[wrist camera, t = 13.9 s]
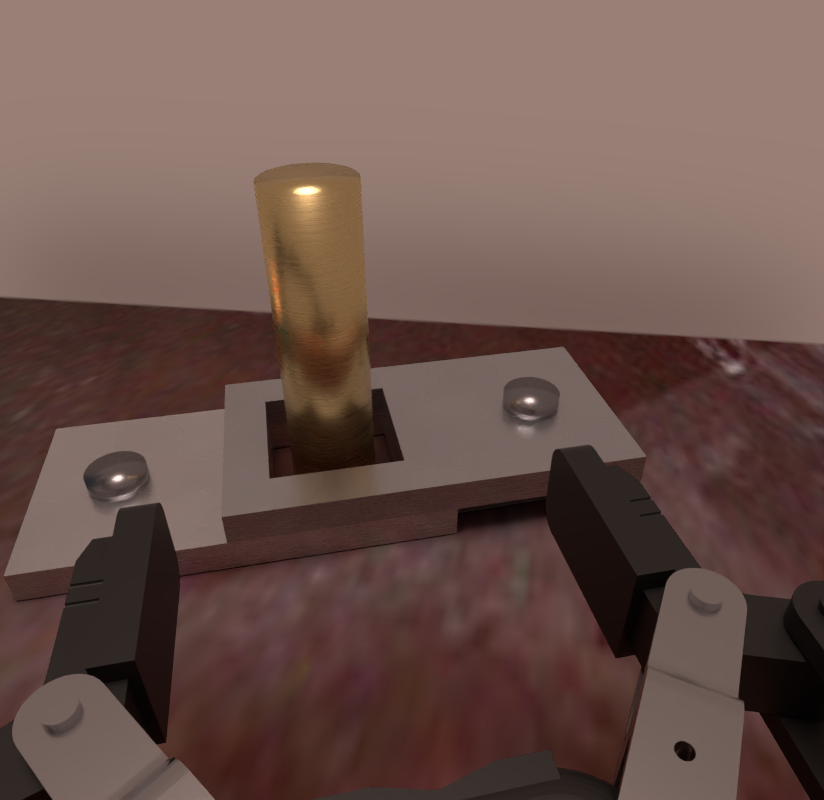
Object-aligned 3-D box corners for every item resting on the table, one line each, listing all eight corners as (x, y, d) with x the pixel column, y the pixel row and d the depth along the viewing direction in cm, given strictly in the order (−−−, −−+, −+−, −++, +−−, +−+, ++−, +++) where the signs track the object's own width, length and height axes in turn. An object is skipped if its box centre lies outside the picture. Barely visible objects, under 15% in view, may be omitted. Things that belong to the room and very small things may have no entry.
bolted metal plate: (15, 601, 23) (-17, 536, 21) (65, 451, 29) (43, 392, 28) (634, 505, 27) (649, 443, 25) (557, 390, 33) (565, 335, 31)
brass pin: (298, 511, 26) (254, 199, 20) (293, 458, 29) (252, 166, 22) (381, 499, 27) (367, 191, 20) (369, 448, 29) (353, 160, 23)
